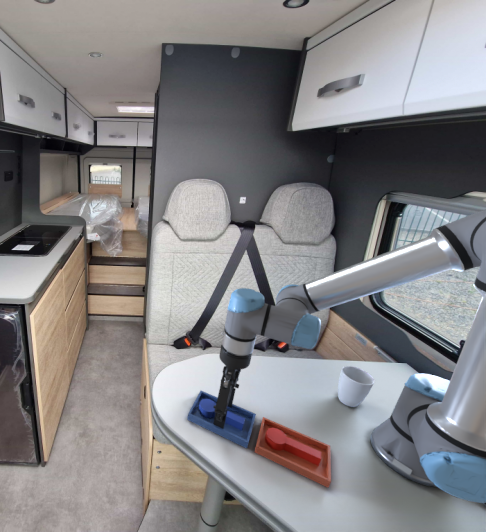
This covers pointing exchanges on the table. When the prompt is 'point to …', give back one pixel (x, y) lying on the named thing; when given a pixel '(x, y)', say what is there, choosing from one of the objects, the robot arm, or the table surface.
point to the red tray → (292, 461)
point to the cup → (354, 385)
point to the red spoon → (291, 446)
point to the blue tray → (229, 431)
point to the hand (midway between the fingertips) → (222, 415)
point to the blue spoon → (209, 412)
